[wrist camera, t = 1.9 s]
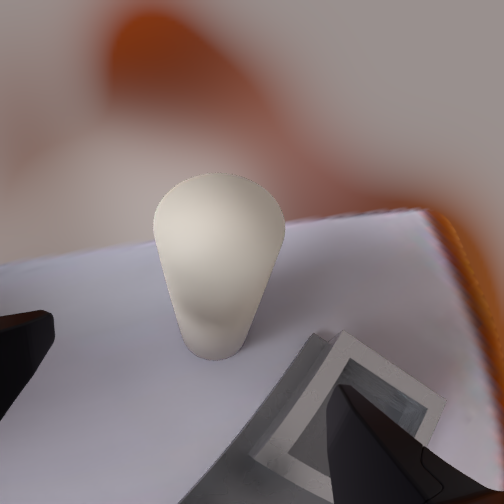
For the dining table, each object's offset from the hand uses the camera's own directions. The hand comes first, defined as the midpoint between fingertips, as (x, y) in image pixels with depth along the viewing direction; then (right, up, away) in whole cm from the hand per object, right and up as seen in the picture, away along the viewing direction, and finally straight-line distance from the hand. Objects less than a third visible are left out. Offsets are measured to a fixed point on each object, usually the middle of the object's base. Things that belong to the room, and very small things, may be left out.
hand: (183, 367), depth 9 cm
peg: (-1, -2, +12) cm, 12 cm away
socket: (+4, -12, +7) cm, 15 cm away
